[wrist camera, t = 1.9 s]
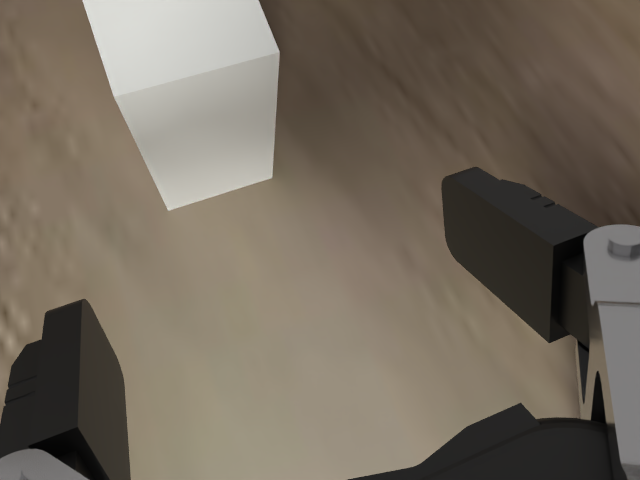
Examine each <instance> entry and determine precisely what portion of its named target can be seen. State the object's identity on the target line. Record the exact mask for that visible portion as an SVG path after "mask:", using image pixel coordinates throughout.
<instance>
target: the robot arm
mask: <svg viewBox="0 0 640 480" xmlns="http://www.w3.org/2000/svg"><path fill="white" fill-rule="evenodd" d="M442 201H443V214H444V227H445V238H446V242H447V245H448V248H449V250H450V252H451V254H452V255H453V257H454V258H455V260H456V261H457V262H459V263H460V264H461V265H462V266H463V267H464V268H465V269H466V270H468V271H469V272H470V273H471V274H472V275H473V276H474V277H475V278H476V279H478V280H479V281H480V282H481V283H482V284H483V285H484V286H485V287H487V288H488V289H489V290H490V291H491V292H492V293H493V294H494V295H496V296H497V297H498V298H499V299H500V300H501V301H502V302H503V303H505V304H506V305H507V306H508V307H509V308H510V309H511V310H512V311H514V312H515V313H516V314H517V315H518V316H519V317H520V318H521V319H523V320H524V321H525V322H526V323H527V324H528V325H529V326H530V327H532V328H533V329H534V330H535V331H536V332H537V333H538V334H539V335H541V336H542V337H543V338H544V339H545V340H546V341H547V342H548V343H551V342H553V341H556V340H558V339H560V338H563V337H565V336H567V335H570V334H571V335H572V336H574V337H575V338H576V346H575V357H576V368H577V380H578V392H579V404H580V416H581V419H577V418H557V417H556V418H542V419H535V418H534V417H533V416H532V415H531V413H530V412H529V411H528V410H527V409H526V408H525V407H524V406H523V405H522V404H521V403H519V404H517V405H515V406H512V407H510V408H508V409H506V410H503V411H501V412H499V413H497V414H494V415H492V416H490V417H488V418H485V419H483V420H481V421H479V422H476V423H474V424H472V425H470V426H467V427H466V428H465V429H463V430H462V431H461V432H460V433H458V434H457V435H456V436H455V437H453V438H452V439H451V440H450V441H448V442H447V443H446V444H445V445H443V446H442V447H441V448H440V449H438V450H437V451H436V452H435V453H433V454H432V455H431V456H430V457H428V458H427V459H426V460H425V461H423V462H422V463H421V464H419V465H417V466H415V467H411V468H406V469H401V470H396V471H390V472H385V473H380V474H374V475H369V476H364V477H359V478H353V479H348V480H640V227H639V226H634V225H621V224H619V225H608V226H603V227H597V226H595V225H594V224H592V223H590V222H588V221H587V220H585V219H583V218H581V217H580V216H578V215H576V214H574V213H573V212H571V211H569V210H567V209H566V208H564V207H562V206H560V205H559V204H557V205H555V202H553V201H552V200H550V199H548V198H546V197H545V196H544V197H542V196H541V194H540V193H538V192H536V191H534V190H533V189H531V188H529V187H527V186H526V185H523V184H519V183H515V182H511V181H507V180H498V179H497V178H495V177H493V176H492V175H490V174H488V173H487V172H485V171H483V170H482V169H480V168H478V167H473V168H470V169H467V170H464V171H461V172H458V173H455V174H452V175H449V176H446V177H445V178H444V179H443V181H442ZM8 387H9V389H8V390H7V393H6V398H5V404H6V406H4V408H3V413H2V418H1V423H0V480H131V477H130V462H129V447H128V432H127V417H126V402H125V386H124V379H123V374H122V371H121V367H120V364H119V362H118V359H117V357H116V355H115V353H114V351H113V349H112V347H111V345H110V343H109V341H108V339H107V337H106V335H105V333H104V331H103V329H102V327H101V325H100V323H99V321H98V319H97V317H96V315H95V313H94V311H93V309H92V307H91V305H90V304H89V302H88V301H87V300H86V299H82V300H79V301H76V302H73V303H70V304H67V305H64V306H61V307H58V308H55V309H52V310H49V311H47V312H46V313H45V318H44V326H43V333H42V340H39V341H36V342H33V343H30V344H27V345H26V346H25V347H24V349H23V350H22V352H21V353H20V355H19V356H18V357H17V359H16V360H15V362H14V363H13V365H12V367H11V372H10V377H9V382H8Z"/></svg>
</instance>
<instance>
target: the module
mask: <svg viewBox="0 0 640 480" xmlns="http://www.w3.org/2000/svg"><path fill="white" fill-rule="evenodd" d="M83 3H84V6H85V9H86V12H87V16H88V19H89V22H90V25H91V28H92V31H93V34H94V37H95V40H96V43H97V46H98V49H99V52H100V55H101V58H102V62H103V65H104V68H105V71H106V74H107V77H108V80H109V83H110V86H111V89H112V92H113V95H114V98H115V100H116V102H117V104H118V106H119V108H120V111H121V113H122V115H123V117H124V119H125V121H126V123H127V125H128V127H129V129H130V131H131V134H132V136H133V138H134V140H135V142H136V144H137V146H138V148H139V150H140V152H141V155H142V157H143V159H144V161H145V163H146V165H147V167H148V169H149V171H150V173H151V175H152V178H153V180H154V182H155V184H156V186H157V188H158V190H159V192H160V194H161V196H162V199H163V201H164V203H165V205H166V207H167V209H168V211H169V210H172V209H176V208H179V207H182V206H185V205H188V204H191V203H195V202H198V201H201V200H204V199H207V198H210V197H214V196H217V195H220V194H223V193H226V192H229V191H233V190H236V189H239V188H242V187H245V186H248V185H251V184H255V183H258V182H261V181H264V180H267V179H270V178H272V174H273V157H274V140H275V123H276V106H277V89H278V72H279V55H280V52H279V49H278V47H277V44H276V42H275V39H274V37H273V35H272V32H271V30H270V27H269V25H268V22H267V20H266V17H265V15H264V13H263V10H262V8H261V5H260V3H259V0H83Z"/></svg>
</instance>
